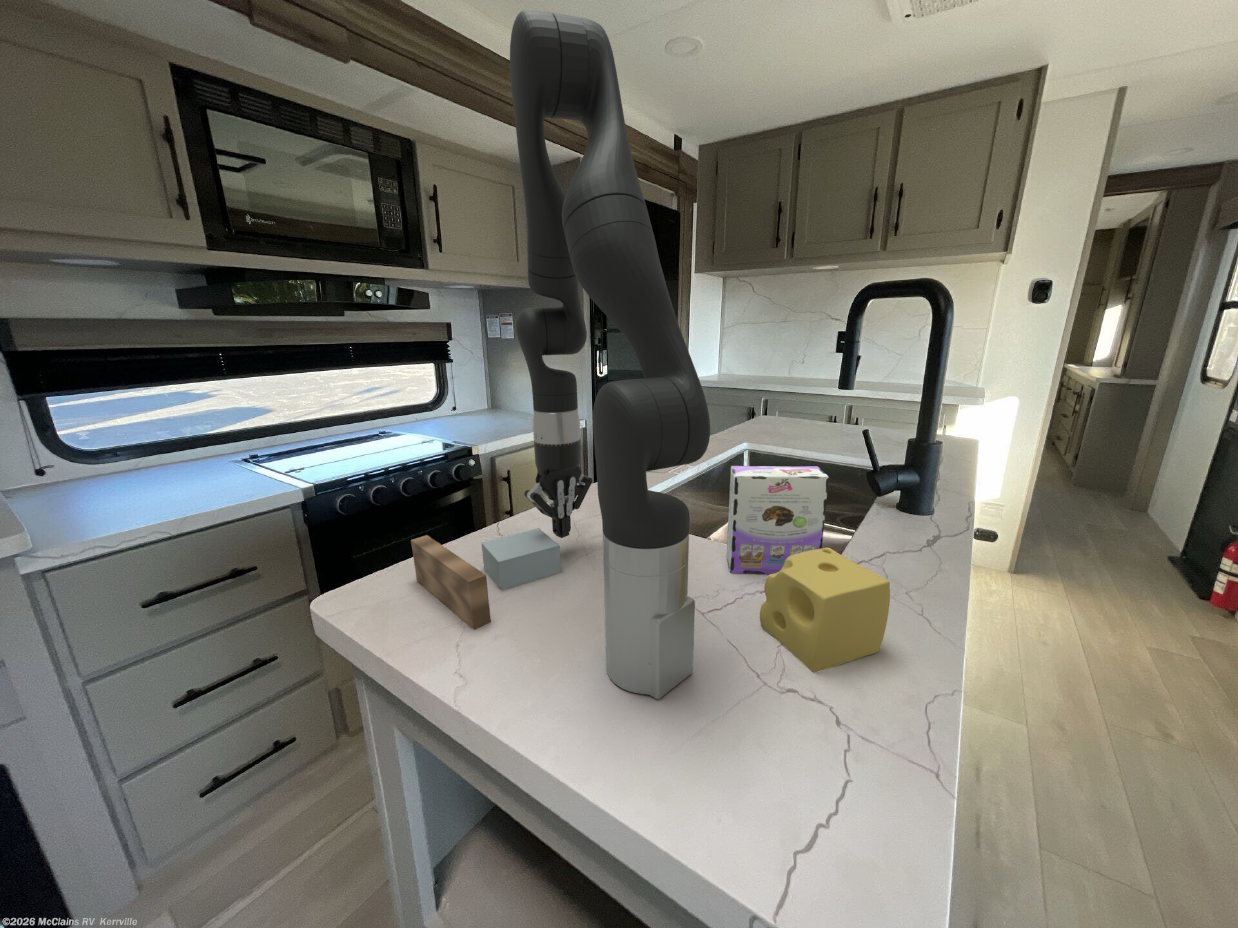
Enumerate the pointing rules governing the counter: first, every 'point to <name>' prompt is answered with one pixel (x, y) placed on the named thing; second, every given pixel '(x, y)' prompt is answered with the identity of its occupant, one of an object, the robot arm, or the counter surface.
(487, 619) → the walnut board
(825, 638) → the cheese
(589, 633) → the counter surface
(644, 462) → the robot arm
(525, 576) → the grey block
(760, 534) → the candy box
